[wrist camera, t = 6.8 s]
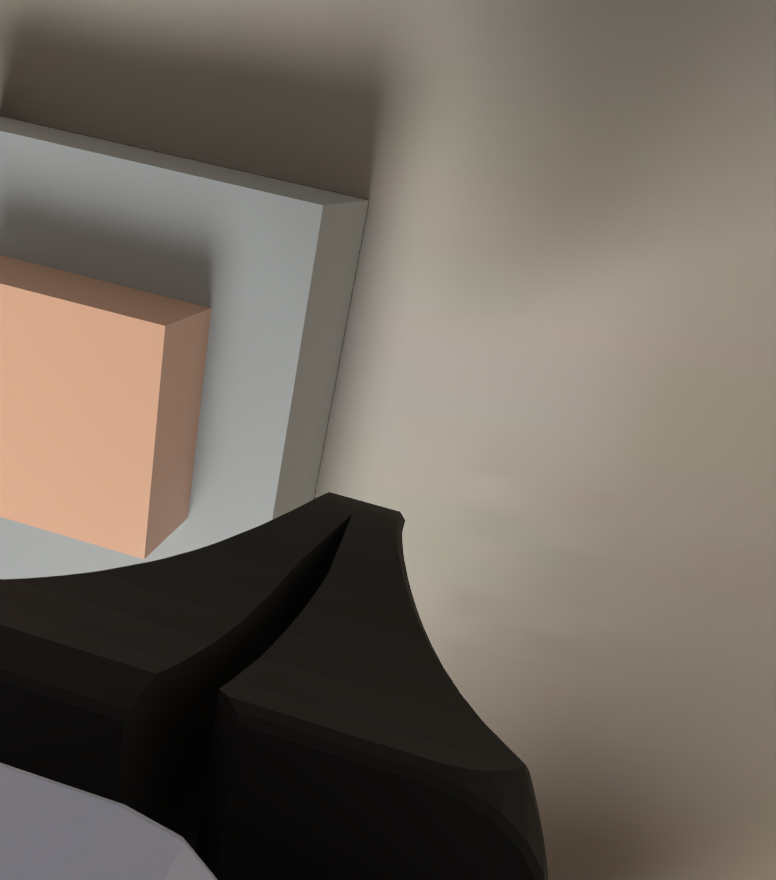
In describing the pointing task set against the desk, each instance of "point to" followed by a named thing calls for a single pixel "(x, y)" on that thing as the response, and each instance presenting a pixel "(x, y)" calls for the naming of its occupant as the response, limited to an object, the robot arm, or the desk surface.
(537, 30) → the desk surface
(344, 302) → the slate slab
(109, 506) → the terracotta tile
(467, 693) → the desk surface
